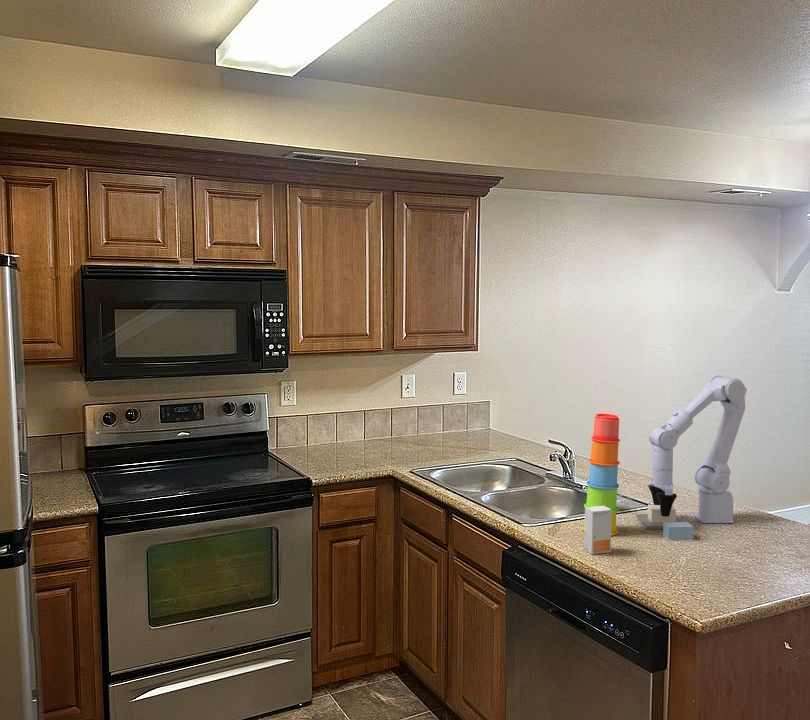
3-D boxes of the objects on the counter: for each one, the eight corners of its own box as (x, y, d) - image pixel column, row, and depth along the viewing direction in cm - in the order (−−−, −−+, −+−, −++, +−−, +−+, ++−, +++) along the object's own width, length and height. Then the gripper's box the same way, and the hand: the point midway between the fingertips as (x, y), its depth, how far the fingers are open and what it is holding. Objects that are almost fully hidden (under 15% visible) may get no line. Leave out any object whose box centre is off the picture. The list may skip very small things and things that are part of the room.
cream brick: (671, 517, 233) (671, 505, 233) (675, 522, 229) (675, 509, 229) (647, 517, 234) (647, 505, 233) (651, 522, 229) (651, 509, 229)
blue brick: (687, 535, 221) (687, 521, 220) (693, 540, 216) (693, 526, 216) (662, 535, 221) (663, 522, 220) (668, 540, 216) (668, 526, 216)
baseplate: (675, 517, 237) (675, 514, 237) (687, 529, 225) (688, 526, 225) (636, 517, 238) (636, 514, 238) (646, 529, 226) (646, 526, 226)
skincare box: (591, 555, 205) (592, 511, 204) (583, 550, 209) (584, 507, 208) (611, 552, 207) (612, 509, 206) (603, 547, 211) (603, 505, 210)
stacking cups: (593, 523, 232) (594, 410, 229) (624, 531, 225) (626, 414, 222) (575, 531, 224) (576, 415, 221) (606, 539, 217) (608, 419, 214)
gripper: (642, 462, 237) (642, 505, 239) (655, 474, 223) (654, 519, 224) (666, 462, 237) (665, 505, 238) (680, 474, 223) (679, 519, 224)
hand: (661, 512), depth 231 cm, fingers open, 7 cm apart
